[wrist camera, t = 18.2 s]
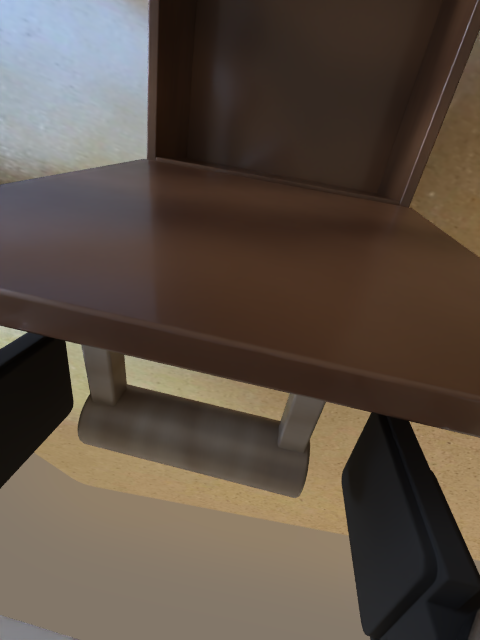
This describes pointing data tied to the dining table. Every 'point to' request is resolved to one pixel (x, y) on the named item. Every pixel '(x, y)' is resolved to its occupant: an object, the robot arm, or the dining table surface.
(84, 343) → the lid
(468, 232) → the dining table surface
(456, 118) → the dining table surface
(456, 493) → the dining table surface
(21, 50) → the dining table surface
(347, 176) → the box
